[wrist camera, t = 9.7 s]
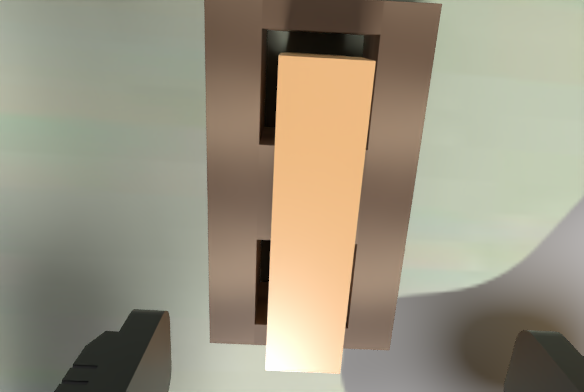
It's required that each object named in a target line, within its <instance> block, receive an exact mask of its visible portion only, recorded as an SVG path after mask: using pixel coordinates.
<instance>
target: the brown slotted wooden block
mask: <svg viewBox="0 0 584 392" xmlns="http://www.w3.org/2000/svg"><path fill="white" fill-rule="evenodd" d="M204 7H205V69H206V130H207V191H208V252H209V314H210V343H227V344H251V345H266V340H267V317H268V293H269V282H260V271H261V240H271V222H272V199H273V175H274V152H275V128H276V127H265V98H266V63H267V30H274V31H293V32H312V33H331V34H350V35H364V45H363V56H362V58H366V59H370V60H374V61H376V64H375V73H374V81H373V90H372V99H371V108H370V116H369V125H368V134H367V143H366V151H365V160H364V169H363V178H362V186H361V195H360V204H359V213H358V221H357V230H356V239H355V248H354V256H353V265H352V274H351V283H350V291H349V300H348V309H347V318H346V326H345V335H344V344H343V348H347V349H371V350H372V349H373V350H389V349H390V343H391V336H392V330H393V323H394V316H395V310H396V303H397V297H398V290H399V284H400V277H401V270H402V264H403V257H404V251H405V244H406V237H407V231H408V224H409V218H410V211H411V205H412V198H413V191H414V185H415V178H416V172H417V165H418V158H419V152H420V145H421V139H422V132H423V126H424V119H425V112H426V106H427V99H428V93H429V86H430V79H431V73H432V66H433V60H434V53H435V47H436V40H437V33H438V27H439V20H440V14H441V7H442V4H436V3H417V2H399V1H381V0H204Z"/></svg>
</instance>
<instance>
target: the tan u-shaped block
mask: <svg viewBox="0 0 584 392" xmlns="http://www.w3.org/2000/svg"><path fill="white" fill-rule="evenodd" d="M375 64H376V61H374V60H370V59H366V58H362V57H349V56H345V55H331V54H314V53H296V52H285V53H280V54H279V57H278V81H277V104H276V128H275V152H274V175H273V199H272V222H271V246H270V270H269V293H268V317H267V340H266V364H265V370H270V371H291V372H313V373H335V374H340V370H341V361H342V353H343V344H344V335H345V326H346V318H347V309H348V300H349V291H350V283H351V274H352V265H353V256H354V248H355V239H356V230H357V221H358V213H359V204H360V195H361V186H362V178H363V169H364V160H365V151H366V143H367V134H368V125H369V116H370V108H371V99H372V90H373V81H374V73H375Z"/></svg>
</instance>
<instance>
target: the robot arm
mask: <svg viewBox="0 0 584 392" xmlns="http://www.w3.org/2000/svg"><path fill="white" fill-rule="evenodd" d="M170 379H171V341H170V317H169V313H168V311H158V310H139V309H134V310H132V312H131V313H130V315H129V316H128V318H127V319H126V321H125V323H124V324H123V326H122V328H121V329H120V331H119V332H113V331H105V332H104V333H103V334H101V335H100V336H99V337H97V338H96V339H95V340H93V341H92V342H90V343H89V344H88V345H86V346H85V348H84V349H83V351H82V352H81V354H80V355H79V356H78V358H77V359H76V361H75V362H74V364H73V367H72V368H70V369H69V371H68V372H67V374H66V375H65V377H64V378H63V380H62V384H59V385H58V387H57V388H56V390H55V391H54V392H168V390H169V386H170ZM504 392H584V356H582V355H581V354H580V353H579V352H578V351H577V350H576V349H575V348H574V347H573V345H572V344H571V343H570V342H569V341H568V340H567V339H566V338H565V337H564V336H563V335H562V334H560V333H559V332H549V331H530V330H529V331H528V330H523V331H521V332H520V333H519V334H518V336H517V338H516V341H515V345H514V349H513V352H512V356H511V360H510V364H509V368H508V371H507V375H506V379H505V383H504Z"/></svg>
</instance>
